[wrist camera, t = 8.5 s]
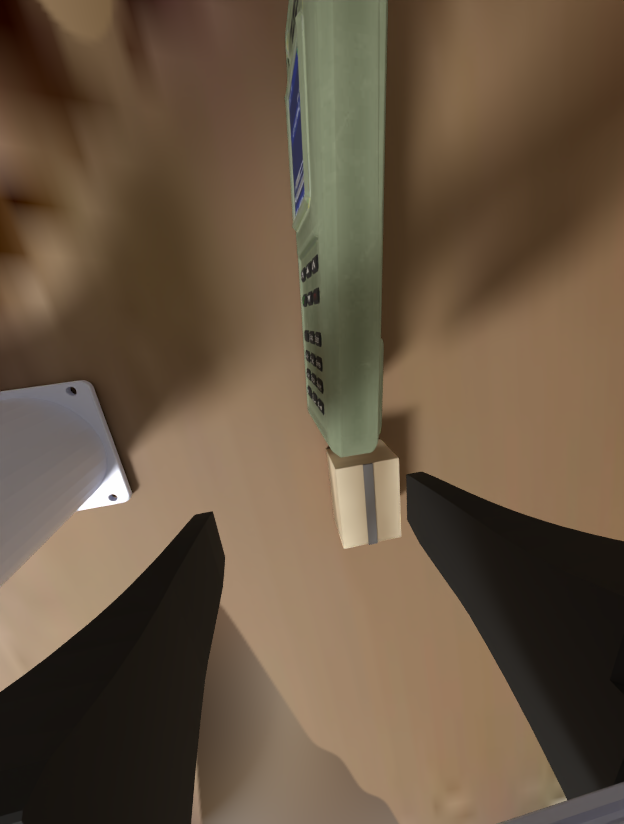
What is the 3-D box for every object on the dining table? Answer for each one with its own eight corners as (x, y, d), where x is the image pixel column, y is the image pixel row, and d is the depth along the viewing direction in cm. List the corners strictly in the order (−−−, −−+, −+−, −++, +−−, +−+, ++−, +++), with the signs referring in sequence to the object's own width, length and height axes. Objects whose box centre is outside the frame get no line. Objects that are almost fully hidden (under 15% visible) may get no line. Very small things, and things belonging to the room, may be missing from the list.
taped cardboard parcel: (334, 519, 22) (344, 550, 19) (205, -594, 9) (176, -1024, 6) (384, 509, 23) (401, 537, 20) (330, -570, 10) (359, -963, 7)
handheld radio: (301, 416, 20) (263, -158, 12) (348, 410, 20) (340, -142, 13) (323, 460, 14) (274, -672, 6) (390, 451, 14) (426, -597, 6)
